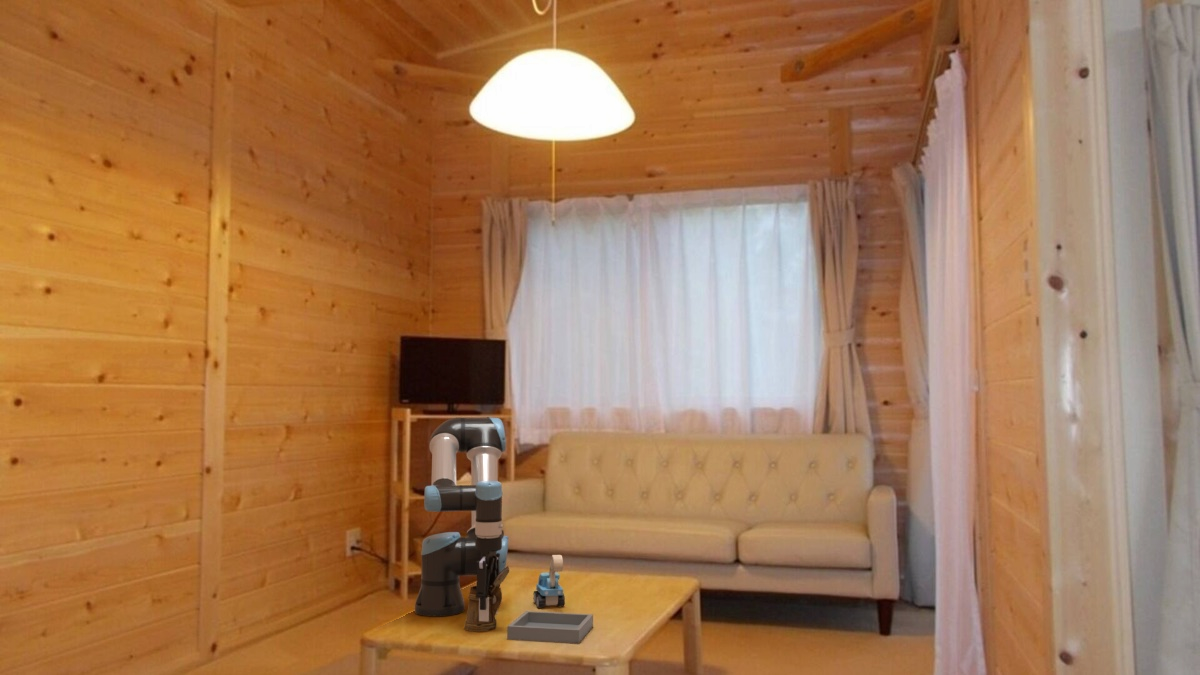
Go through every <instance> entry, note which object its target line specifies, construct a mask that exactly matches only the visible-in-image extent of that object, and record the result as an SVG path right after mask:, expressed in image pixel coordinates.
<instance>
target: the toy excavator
mask: <svg viewBox="0 0 1200 675" xmlns="http://www.w3.org/2000/svg"><path fill="white" fill-rule="evenodd" d="M563 569H564V560H563V555H561V554H552V555H551V561H550V564H549V572H541V573H540V574H538V575H539V576H538V582H537V584H536V585H535V586H536V589H535V590H534V591H533V597H532V598H533V603H534V604H536V607H537V609H540V608H541V609H543V608H545V607H546V606H547V607H548V606H557V607H559V608H560V607H565V604H566V601H565V599H566V598H565V597H566V596H565V594H564V588H563V587H562V586H561V585H560V584H559V580H560V578H561V577H560V574H559V572H563Z"/></svg>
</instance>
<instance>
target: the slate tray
mask: <svg viewBox="0 0 1200 675" xmlns="http://www.w3.org/2000/svg"><path fill="white" fill-rule="evenodd" d="M592 628H594V614H593V613H591V614H590V613H576V612H575V613H574V612H571V613H570V612H557V611H556V612H553V611H535V610H534V611H532V610H526V611H524V612H523V613H522V614H520V615H519V616H518V617H517V618H515V619H514V620H513V621H512V622H511V623H509V624H508V625H507V626H506V629H507V630H506V635H507V636H506V637H507V638H506V640H510V641H511V640H512V641H513V640H514V641H526V642H527V641H529V642H546V643H559V644H560V643H561V644H578V645H579V644H580V643H581V642H582V641H583V640H584V638H585V637H586V636H587V635H588V634H589V633H590V632H591V630H592Z"/></svg>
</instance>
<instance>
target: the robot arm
mask: <svg viewBox="0 0 1200 675" xmlns="http://www.w3.org/2000/svg"><path fill="white" fill-rule="evenodd" d="M504 426H505V425H504V423H503V421H502V419H500V418H498V417H490V416H487V417H462V416H461V417H453V418H449V419H447V420H445V421H444V422H441V424H440V425H438V426H437V427H436V428H435V430H433V432H432V433H431V436H430V437H429V438H430V439H429V452H430V453H431V455H432V456H431V457H432V458H431V485H426V486H425V488H424V501H423V502H424V503H423V504H424V510H425V511H426V512H437V513H440V512H471V527H470V528H469V529H468V530H467V531H466V536H462V535H461V534H460V532H458V531H448V532H447V531H446V532H442V533H441V532H440V533H436V534H431V535H429V536H427V537H425V538H423V540H422V544H421V552H420V555H421V573H420V574H421V575H420V576H421V577H420V579H421V580H420V588H419V591H418V593H417V594H418V595H417V597H416V600H415V603H414V613H415V614H417V615H420V616H423V617H424V616H427V617H446V616H447V617H448V616H454V615H458V614H462V613H463V612H465V609H466V606H465V604H466V603H465V599H464V596H463V592H462V589H461V586H460V585H461V584H460V577H461V576H463V577H464V576H476V585H475V586H476V598H479V621H486V622H488V621H489V597H488V589H489V586H493V581H494V579H495V578H496V576H497V575H498V574H499V573H500V572H501V571H502V570H503V569H505V568H506V567H507V566H506V565H507V559H508V558H507V557H508V550H509V538H510V537H509V536H507V535H505V533H504V532H505V531H504V529H503V528H504V524H502V523H503V518H502V517H503V516H502V515H503V489H502V488H503V484H502V482H500V481H498V461H499V459H500V458H501V457H502V455H503V454H502V453H505V451H506V446H507V443H506V442H507V441H506V432H505V427H504ZM457 453H466V458H467V459H468V460H469V461H470V463H471V466H470V474H471V476H470V477H471V479H470V480H471V481H470V482H471V483H470V484H471V485H470V484H467V485H466V484H465V485H461V484H459V485H458V484H457ZM499 587H500V589H501V584H500V585H499ZM501 590H502V589H501ZM481 592H482V593H481ZM495 602H496V596H495V595H494V598H493V604H494V603H495ZM497 615H498V610H497V611H496V614H495V616H497Z"/></svg>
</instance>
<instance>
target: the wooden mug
mask: <svg viewBox="0 0 1200 675" xmlns="http://www.w3.org/2000/svg"><path fill="white" fill-rule="evenodd" d="M509 573H510V568H509V566H508V565H507V566H505V569H503V570H502V571H501V572H500V573H499V574H498V575H497V576H496V578H495V579H494V581H493V586H489V589H488V597H489V621H488V622H486V621H479V598H476V585H473V586H470V589H469V590H470V592H468V605H467V612H466V618H465V622H464V628H463V629H465V630H466V631H470V632H488V631H492V630H494V629H496V628H497V625H498V624H497V619H496V615H495V614H496V611H497V612H498V609H499V608H500V606H501V604H502V602H503V601H502V600H503V592H502V589H500V588H501V584H502V583H503V582H504V580H505V579H506V578H507V576H508V575H509ZM499 585H500V587H499ZM481 593H482V592H481ZM494 595H495V596H496V602H495V603H494V604H493V598H494Z"/></svg>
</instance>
